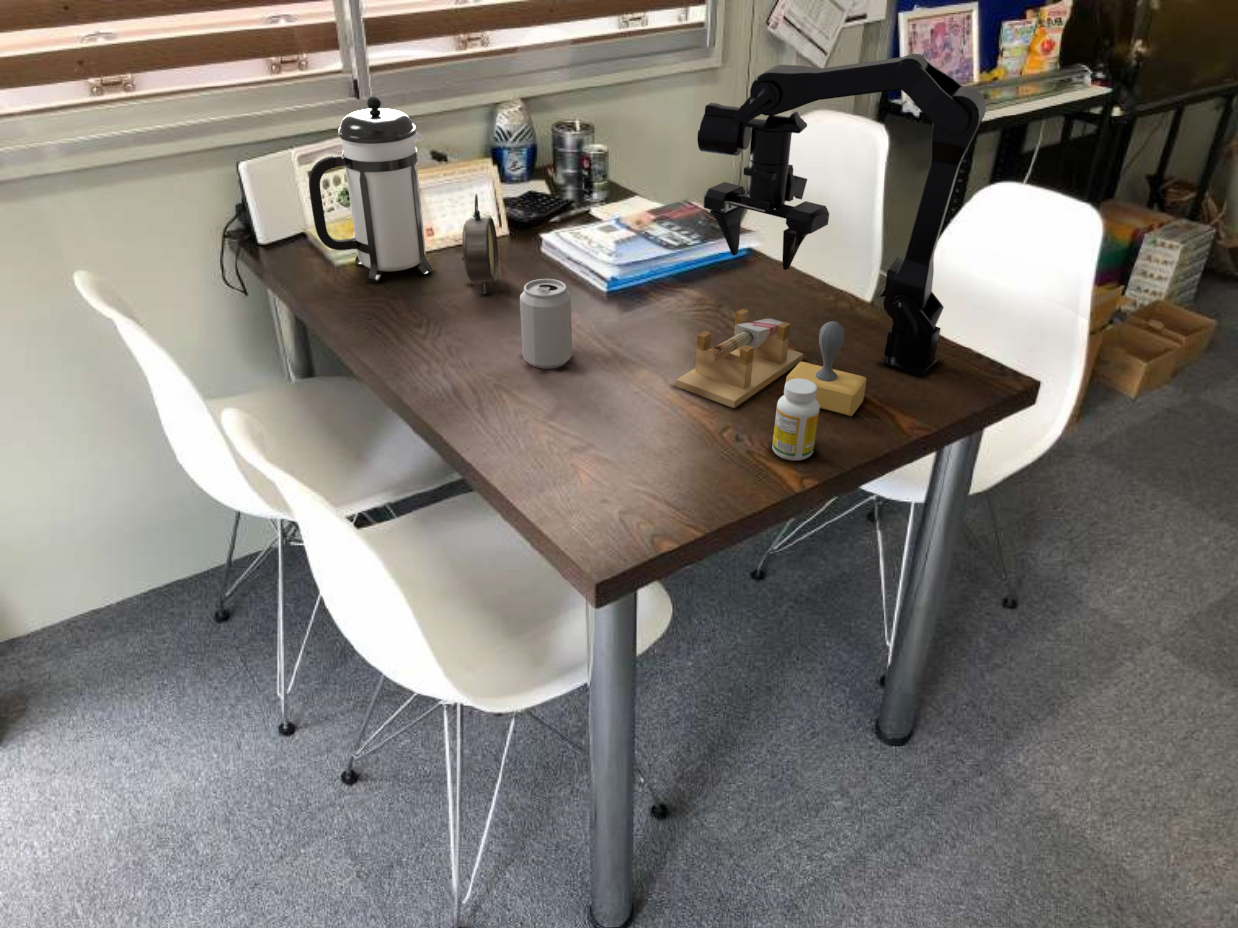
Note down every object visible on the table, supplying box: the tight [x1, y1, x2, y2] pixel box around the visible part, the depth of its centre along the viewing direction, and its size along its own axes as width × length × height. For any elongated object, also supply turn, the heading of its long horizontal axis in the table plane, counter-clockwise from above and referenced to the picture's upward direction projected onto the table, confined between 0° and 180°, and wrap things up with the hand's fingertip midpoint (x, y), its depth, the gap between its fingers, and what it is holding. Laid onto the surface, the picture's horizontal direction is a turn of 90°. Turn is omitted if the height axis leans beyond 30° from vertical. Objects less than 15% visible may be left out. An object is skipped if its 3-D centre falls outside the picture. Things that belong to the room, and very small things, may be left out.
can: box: [519, 278, 573, 370], centre depth 149 cm, size 8×8×12 cm
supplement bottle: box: [771, 379, 821, 461], centre depth 128 cm, size 5×5×10 cm
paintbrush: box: [704, 317, 784, 363], centre depth 146 cm, size 4×3×20 cm
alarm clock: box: [461, 193, 499, 296], centre depth 172 cm, size 11×5×16 cm, turn 179°
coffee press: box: [308, 95, 433, 284], centre depth 173 cm, size 17×16×30 cm
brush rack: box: [675, 308, 804, 409], centre depth 147 cm, size 10×19×7 cm, turn 141°
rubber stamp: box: [785, 320, 867, 417], centre depth 139 cm, size 10×6×12 cm, turn 61°
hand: (760, 261), depth 154 cm, fingers open, 9 cm apart
